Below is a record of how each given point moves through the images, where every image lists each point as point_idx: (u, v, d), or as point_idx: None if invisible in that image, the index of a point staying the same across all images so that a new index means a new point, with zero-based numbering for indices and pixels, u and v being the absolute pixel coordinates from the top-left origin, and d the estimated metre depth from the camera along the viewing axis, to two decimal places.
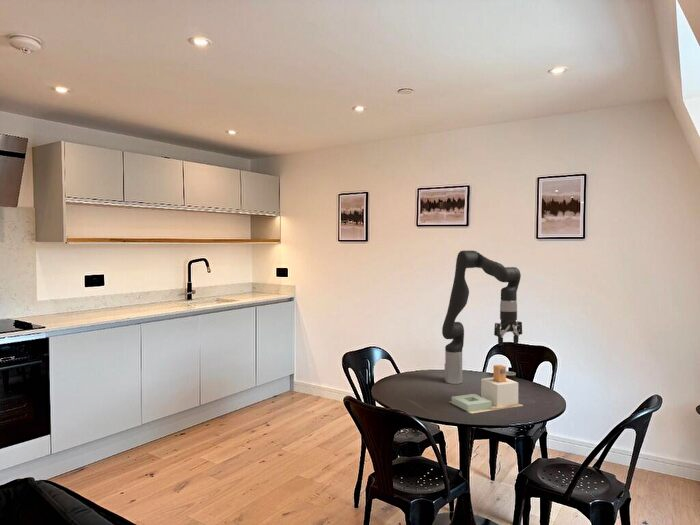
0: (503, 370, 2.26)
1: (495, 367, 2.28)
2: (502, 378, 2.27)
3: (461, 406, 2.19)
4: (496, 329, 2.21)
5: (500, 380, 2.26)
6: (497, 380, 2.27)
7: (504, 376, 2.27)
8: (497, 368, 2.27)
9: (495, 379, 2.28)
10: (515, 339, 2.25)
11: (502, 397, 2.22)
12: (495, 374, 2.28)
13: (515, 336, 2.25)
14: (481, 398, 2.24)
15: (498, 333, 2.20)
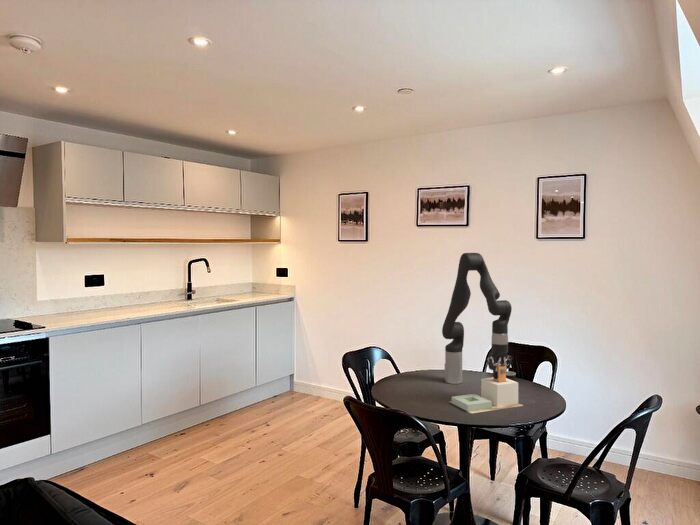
0: (503, 370, 2.26)
1: None
2: (502, 378, 2.27)
3: (461, 406, 2.19)
4: (489, 364, 2.26)
5: (500, 380, 2.26)
6: (497, 380, 2.27)
7: (504, 376, 2.27)
8: None
9: (495, 379, 2.28)
10: None
11: (502, 397, 2.22)
12: None
13: None
14: (481, 398, 2.24)
15: (493, 367, 2.26)
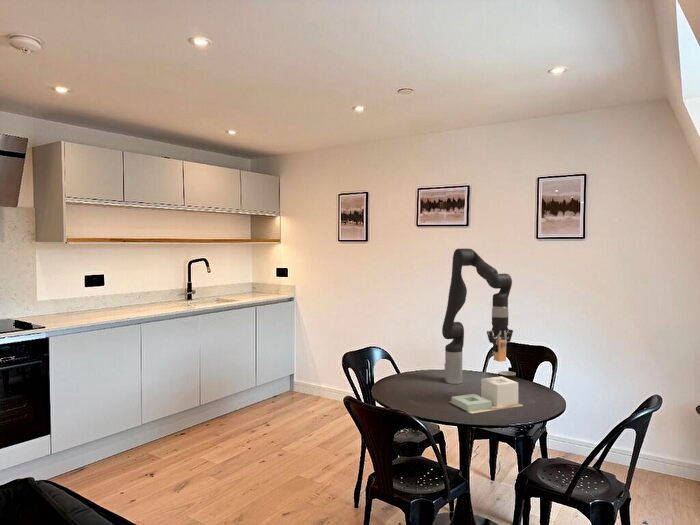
0: (503, 343, 2.25)
1: (495, 340, 2.28)
2: (503, 351, 2.26)
3: (461, 406, 2.19)
4: (490, 337, 2.25)
5: (500, 353, 2.26)
6: (497, 353, 2.26)
7: (505, 349, 2.27)
8: None
9: (495, 352, 2.28)
10: None
11: (502, 397, 2.22)
12: None
13: None
14: (481, 398, 2.24)
15: (493, 340, 2.25)
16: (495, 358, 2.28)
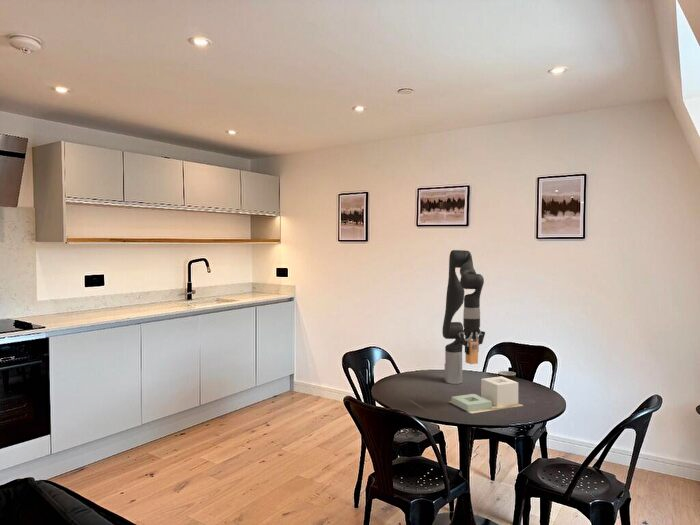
0: (475, 345, 2.20)
1: None
2: (474, 353, 2.20)
3: (461, 406, 2.19)
4: (461, 339, 2.20)
5: (472, 356, 2.20)
6: (469, 356, 2.21)
7: (476, 352, 2.21)
8: None
9: (467, 355, 2.22)
10: None
11: (502, 397, 2.22)
12: None
13: None
14: (481, 398, 2.24)
15: (464, 342, 2.19)
16: (467, 360, 2.22)
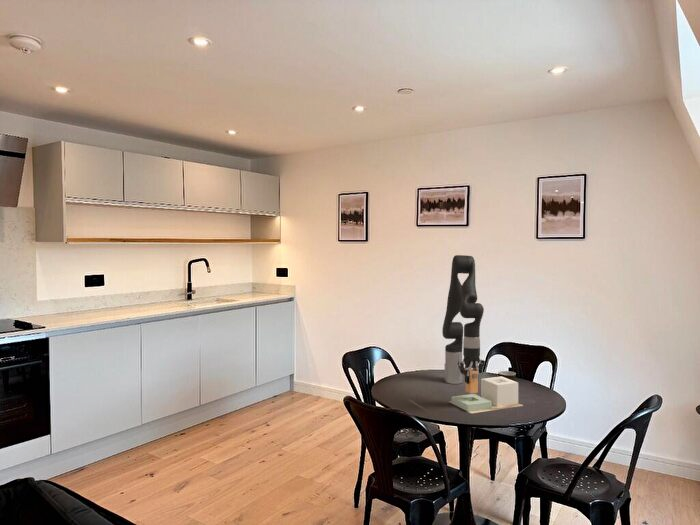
0: (475, 375, 2.20)
1: None
2: (474, 382, 2.21)
3: (461, 406, 2.19)
4: (461, 368, 2.20)
5: (472, 385, 2.20)
6: (469, 385, 2.21)
7: (476, 381, 2.21)
8: None
9: (467, 384, 2.22)
10: None
11: (502, 397, 2.22)
12: None
13: None
14: (481, 398, 2.24)
15: (464, 371, 2.20)
16: (467, 389, 2.22)
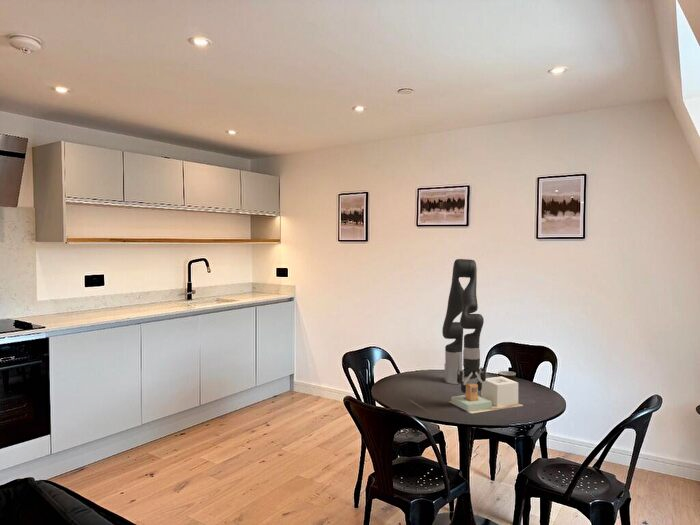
0: (475, 388, 2.20)
1: (467, 385, 2.22)
2: (474, 396, 2.21)
3: (461, 406, 2.19)
4: (459, 376, 2.20)
5: (472, 399, 2.21)
6: (469, 399, 2.21)
7: (476, 395, 2.21)
8: (469, 386, 2.21)
9: (467, 397, 2.23)
10: (478, 386, 2.24)
11: (502, 397, 2.22)
12: (467, 392, 2.23)
13: (478, 383, 2.24)
14: (481, 398, 2.24)
15: (460, 381, 2.19)
16: None
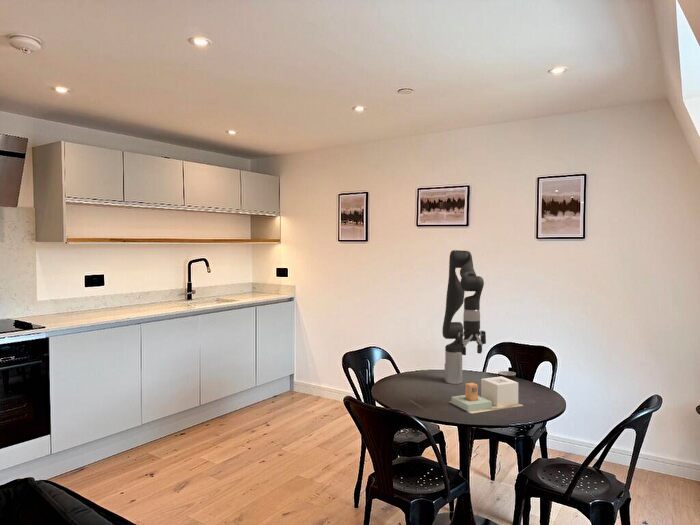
0: (475, 388, 2.20)
1: (467, 385, 2.22)
2: (474, 396, 2.21)
3: (461, 406, 2.19)
4: (459, 339, 2.19)
5: (472, 399, 2.21)
6: (469, 399, 2.21)
7: (476, 395, 2.21)
8: (469, 386, 2.21)
9: (467, 397, 2.23)
10: (479, 348, 2.23)
11: (502, 397, 2.22)
12: (467, 392, 2.23)
13: (479, 345, 2.23)
14: (481, 398, 2.24)
15: (461, 343, 2.19)
16: None
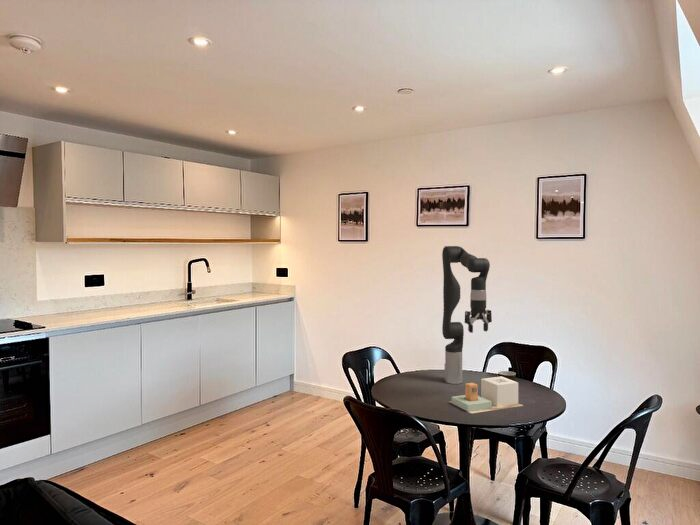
0: (475, 388, 2.20)
1: (467, 385, 2.22)
2: (474, 396, 2.21)
3: (461, 406, 2.19)
4: (466, 317, 2.32)
5: (472, 399, 2.21)
6: (469, 399, 2.21)
7: (476, 395, 2.21)
8: (469, 386, 2.21)
9: (467, 397, 2.23)
10: (485, 327, 2.36)
11: (502, 397, 2.22)
12: (467, 392, 2.23)
13: (485, 324, 2.37)
14: (481, 398, 2.24)
15: (468, 321, 2.32)
16: None
